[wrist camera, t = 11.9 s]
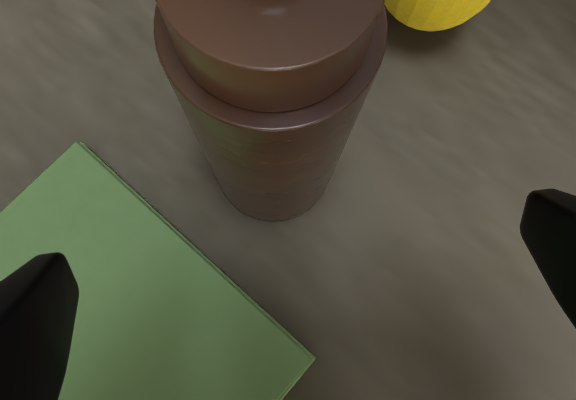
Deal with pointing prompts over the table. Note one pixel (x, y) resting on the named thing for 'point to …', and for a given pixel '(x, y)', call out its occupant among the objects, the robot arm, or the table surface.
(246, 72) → the pepper mill
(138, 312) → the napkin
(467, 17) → the lemon
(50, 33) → the table surface
